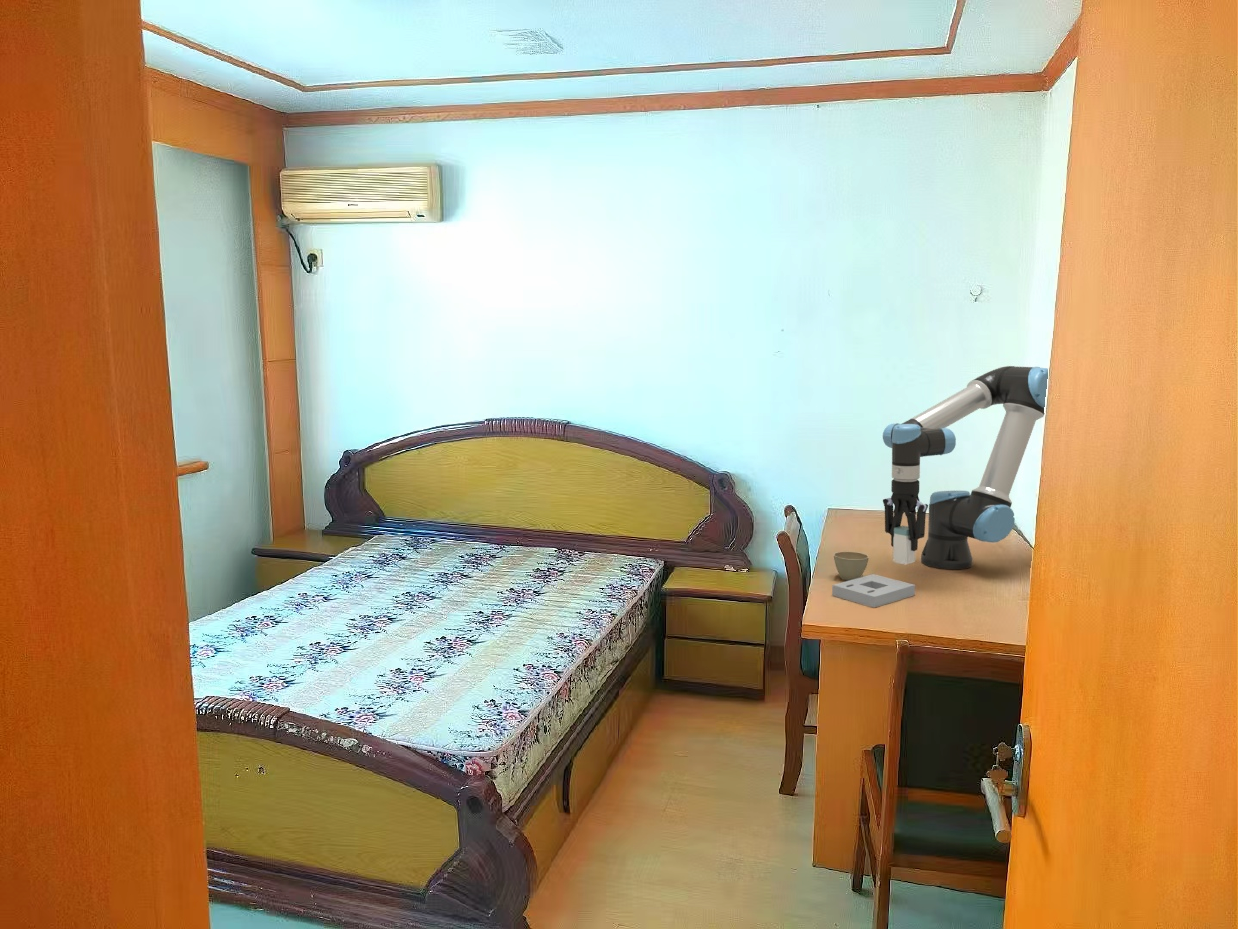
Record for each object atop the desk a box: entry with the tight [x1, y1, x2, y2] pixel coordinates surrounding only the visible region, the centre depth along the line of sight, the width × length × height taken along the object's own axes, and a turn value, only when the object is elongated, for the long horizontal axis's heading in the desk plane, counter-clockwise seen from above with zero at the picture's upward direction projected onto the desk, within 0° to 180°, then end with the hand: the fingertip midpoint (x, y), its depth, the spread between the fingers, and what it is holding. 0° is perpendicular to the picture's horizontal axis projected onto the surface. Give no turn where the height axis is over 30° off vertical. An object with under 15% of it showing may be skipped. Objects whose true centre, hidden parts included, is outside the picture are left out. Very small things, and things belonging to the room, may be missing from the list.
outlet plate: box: [831, 573, 916, 609], centre depth 246 cm, size 18×14×3 cm
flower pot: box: [833, 550, 870, 581], centre depth 262 cm, size 10×10×7 cm
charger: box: [893, 525, 915, 566], centre depth 254 cm, size 4×4×10 cm
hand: (903, 559), depth 254 cm, fingers closed on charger, 4 cm apart
